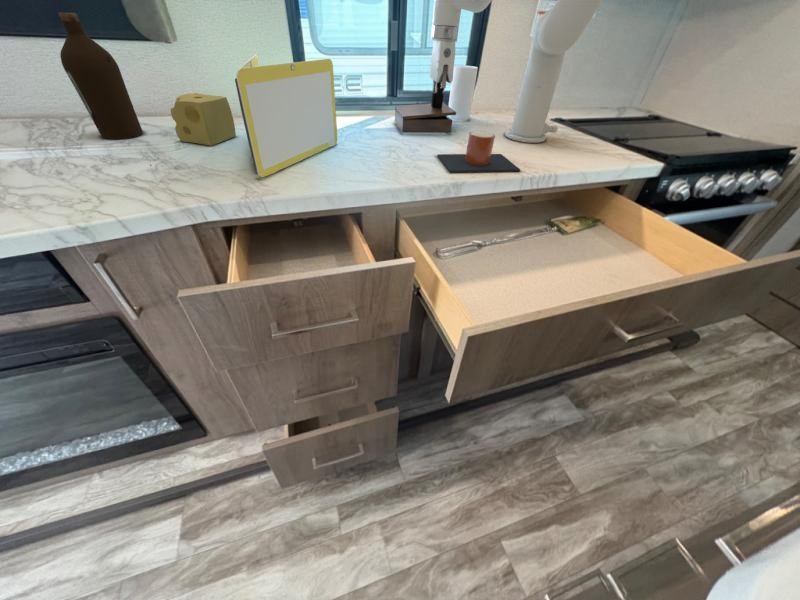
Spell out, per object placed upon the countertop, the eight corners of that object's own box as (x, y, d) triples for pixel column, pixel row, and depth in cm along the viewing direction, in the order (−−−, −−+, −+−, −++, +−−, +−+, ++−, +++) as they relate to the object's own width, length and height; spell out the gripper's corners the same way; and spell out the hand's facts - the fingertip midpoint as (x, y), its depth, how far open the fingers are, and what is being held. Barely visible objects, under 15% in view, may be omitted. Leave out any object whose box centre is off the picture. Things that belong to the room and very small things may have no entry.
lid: (443, 105, 113) (443, 102, 112) (455, 114, 102) (456, 112, 101) (395, 108, 111) (395, 106, 110) (403, 119, 100) (402, 116, 99)
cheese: (179, 141, 88) (163, 98, 81) (208, 132, 96) (196, 91, 89) (212, 147, 86) (198, 102, 79) (239, 136, 94) (229, 95, 87)
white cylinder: (468, 117, 126) (476, 66, 115) (469, 122, 119) (478, 68, 109) (446, 115, 126) (453, 64, 116) (446, 120, 120) (453, 67, 109)
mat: (500, 156, 91) (501, 153, 91) (519, 171, 82) (520, 169, 82) (437, 156, 88) (437, 154, 88) (450, 172, 79) (450, 170, 79)
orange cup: (484, 157, 88) (489, 130, 83) (492, 165, 83) (499, 137, 79) (461, 157, 87) (466, 130, 82) (469, 165, 82) (474, 137, 78)
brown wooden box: (438, 123, 116) (440, 109, 113) (450, 135, 105) (452, 120, 103) (394, 123, 114) (395, 109, 111) (402, 135, 103) (402, 119, 100)
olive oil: (147, 128, 95) (99, 13, 79) (144, 138, 88) (92, 14, 72) (101, 131, 91) (42, 11, 75) (95, 141, 84) (28, 12, 68)
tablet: (258, 135, 95) (240, 50, 83) (334, 134, 100) (328, 53, 87) (245, 181, 70) (216, 68, 57) (349, 177, 74) (343, 71, 62)
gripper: (465, 36, 89) (454, 113, 101) (449, 33, 100) (441, 103, 112) (438, 34, 88) (430, 112, 100) (425, 32, 99) (419, 102, 111)
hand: (436, 107), depth 106 cm, fingers closed
